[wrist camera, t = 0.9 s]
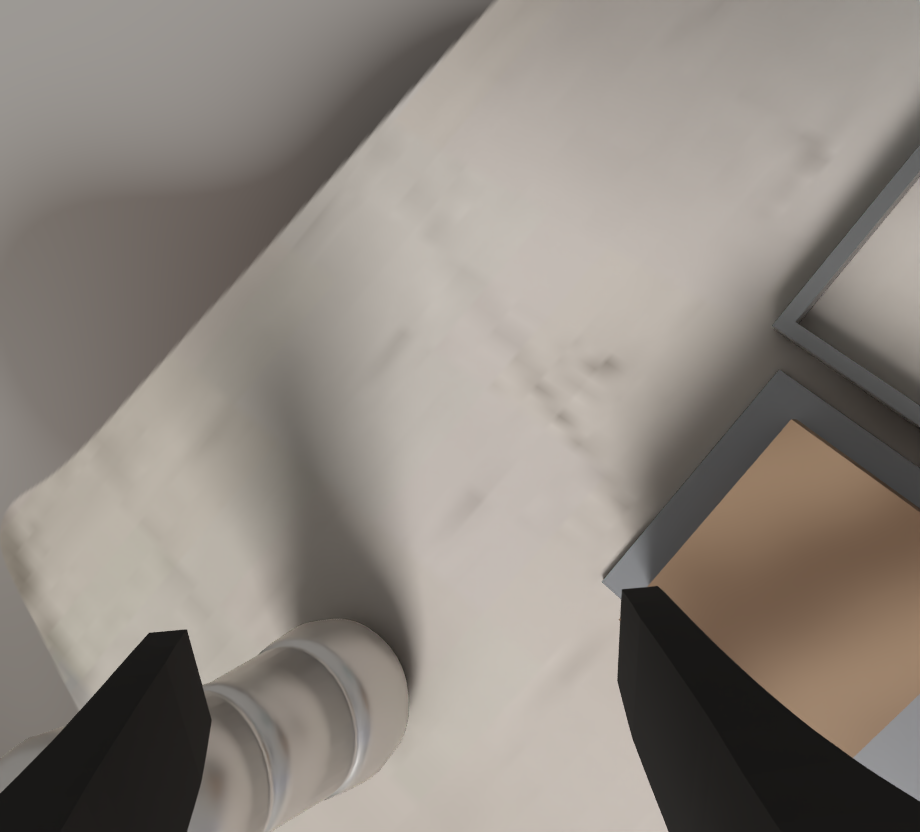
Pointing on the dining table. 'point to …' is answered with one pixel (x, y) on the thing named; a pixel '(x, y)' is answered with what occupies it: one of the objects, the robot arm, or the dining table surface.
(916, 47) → the dining table surface
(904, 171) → the socket frames
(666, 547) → the board
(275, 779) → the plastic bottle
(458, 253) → the dining table surface
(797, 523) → the cardboard box
